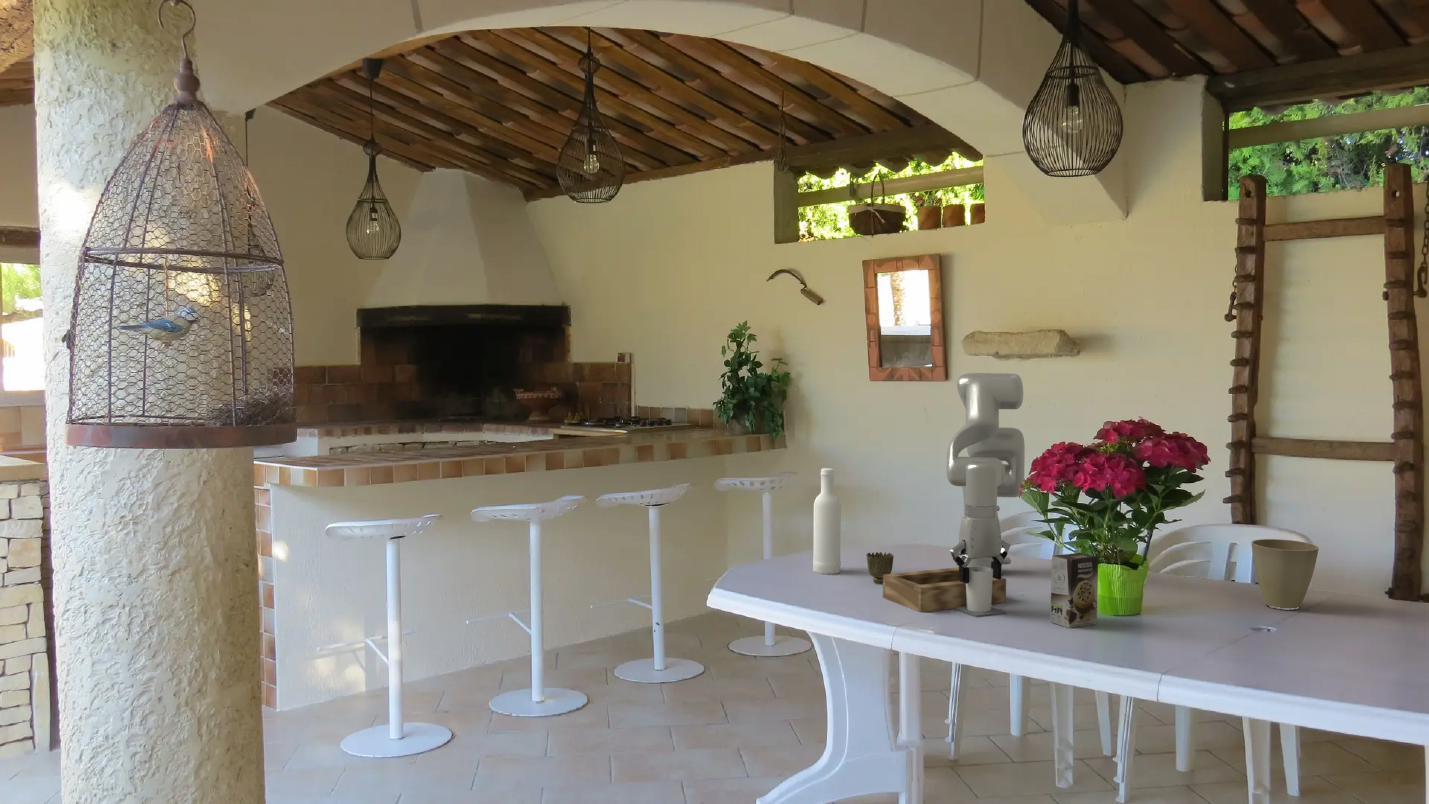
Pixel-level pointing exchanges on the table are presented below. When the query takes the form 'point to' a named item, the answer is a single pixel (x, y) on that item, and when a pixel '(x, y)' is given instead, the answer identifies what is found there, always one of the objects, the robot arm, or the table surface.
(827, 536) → the bottle
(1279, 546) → the plant pot
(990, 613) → the coaster
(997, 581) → the crate
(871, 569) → the cup
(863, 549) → the table surface
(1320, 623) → the table surface
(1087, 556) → the coffee box
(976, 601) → the white tumbler
